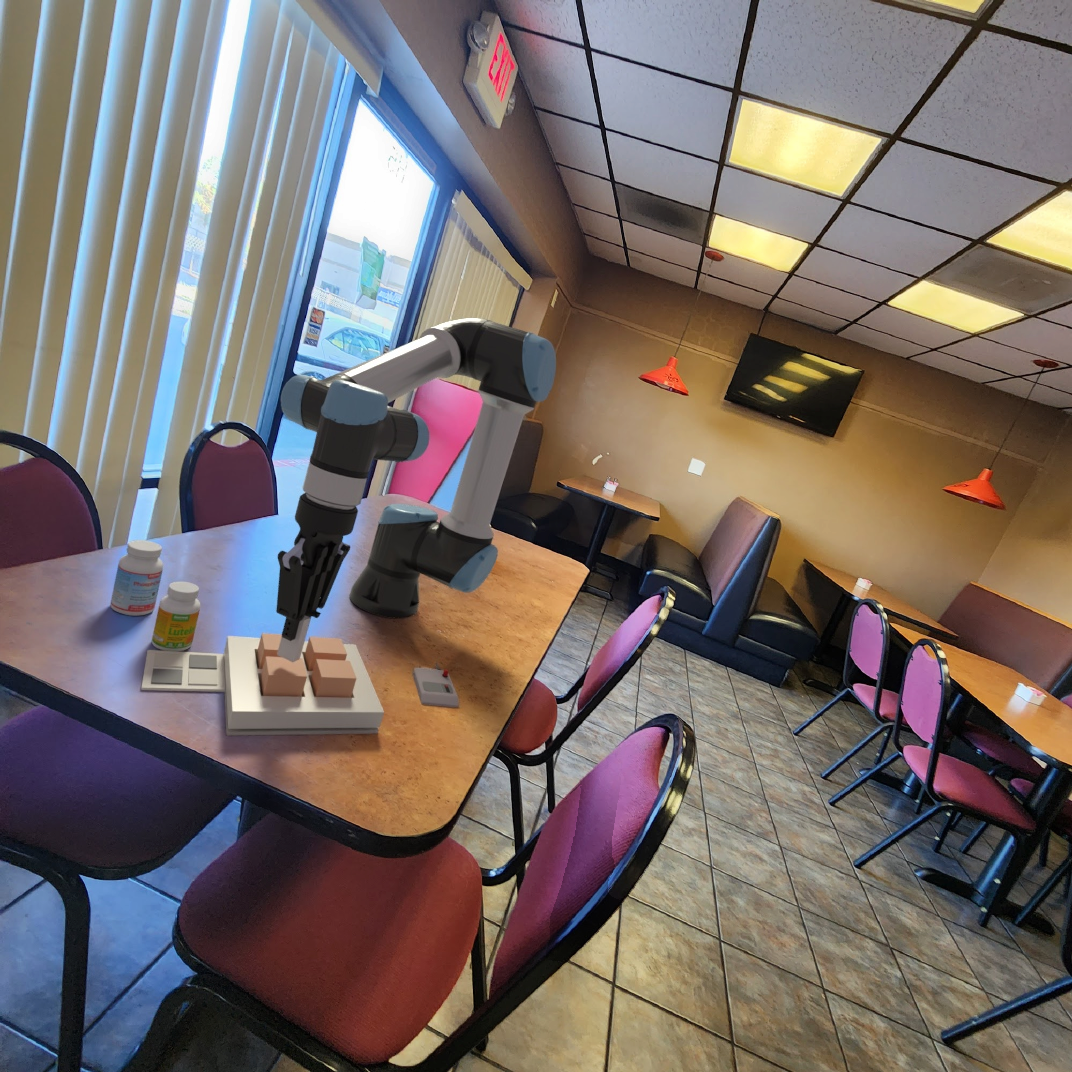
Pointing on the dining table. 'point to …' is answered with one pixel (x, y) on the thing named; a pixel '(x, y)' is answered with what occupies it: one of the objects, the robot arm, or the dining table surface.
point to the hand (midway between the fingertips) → (288, 656)
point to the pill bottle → (138, 579)
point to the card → (183, 671)
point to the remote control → (435, 687)
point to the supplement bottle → (177, 617)
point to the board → (293, 699)
